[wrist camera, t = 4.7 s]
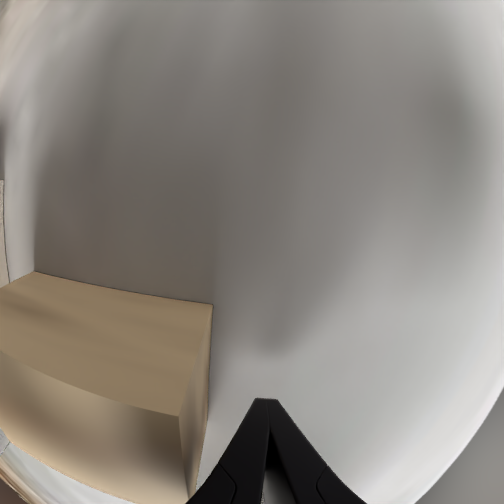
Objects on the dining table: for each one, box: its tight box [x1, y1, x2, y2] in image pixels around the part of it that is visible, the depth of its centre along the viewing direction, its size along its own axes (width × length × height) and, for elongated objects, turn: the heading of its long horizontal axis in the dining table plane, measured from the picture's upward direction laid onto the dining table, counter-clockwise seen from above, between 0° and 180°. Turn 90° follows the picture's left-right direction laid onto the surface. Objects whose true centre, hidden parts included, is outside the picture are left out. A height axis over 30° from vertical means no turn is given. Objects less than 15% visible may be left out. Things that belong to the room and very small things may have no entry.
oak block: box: [0, 271, 213, 504], centre depth 7 cm, size 6×8×5 cm
